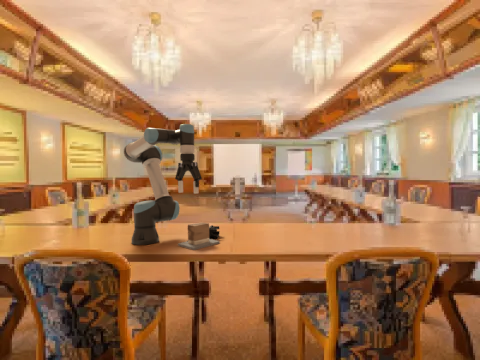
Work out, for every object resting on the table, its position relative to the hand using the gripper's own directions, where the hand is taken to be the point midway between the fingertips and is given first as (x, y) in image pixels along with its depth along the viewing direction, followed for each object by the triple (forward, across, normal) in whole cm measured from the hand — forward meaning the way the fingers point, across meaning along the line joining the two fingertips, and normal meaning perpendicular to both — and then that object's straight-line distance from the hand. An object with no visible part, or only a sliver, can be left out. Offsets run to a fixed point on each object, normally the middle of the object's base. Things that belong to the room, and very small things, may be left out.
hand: (188, 193), depth 156 cm
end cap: (+29, +5, -21) cm, 36 cm away
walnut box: (+17, -2, -5) cm, 18 cm away
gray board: (+28, -2, -5) cm, 29 cm away
